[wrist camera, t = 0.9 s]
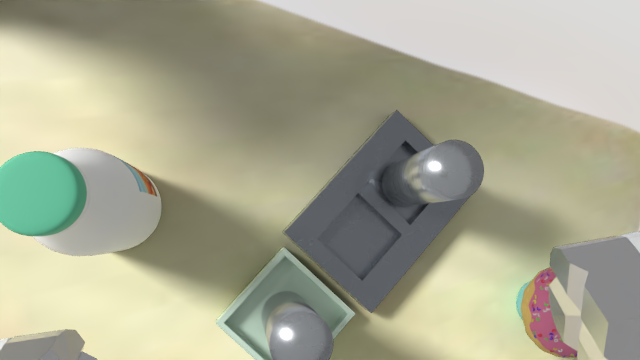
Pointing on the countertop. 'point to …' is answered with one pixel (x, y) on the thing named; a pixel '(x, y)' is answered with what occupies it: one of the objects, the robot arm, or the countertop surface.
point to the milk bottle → (78, 201)
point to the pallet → (370, 218)
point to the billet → (295, 329)
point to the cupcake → (541, 315)
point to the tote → (273, 278)
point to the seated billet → (434, 175)
